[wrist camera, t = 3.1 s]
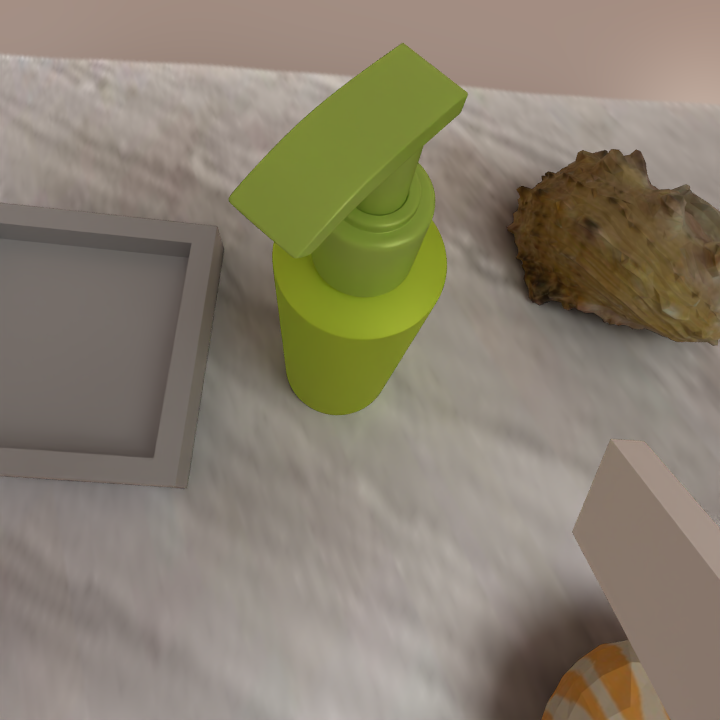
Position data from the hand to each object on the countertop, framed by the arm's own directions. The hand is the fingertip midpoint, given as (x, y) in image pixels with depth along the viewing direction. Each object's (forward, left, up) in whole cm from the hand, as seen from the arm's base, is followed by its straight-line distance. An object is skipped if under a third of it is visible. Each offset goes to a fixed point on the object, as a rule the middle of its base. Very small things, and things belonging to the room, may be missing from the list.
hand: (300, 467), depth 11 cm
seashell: (-18, -15, -18) cm, 29 cm away
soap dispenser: (-1, -7, -17) cm, 19 cm away
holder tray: (+13, -7, -17) cm, 23 cm away
